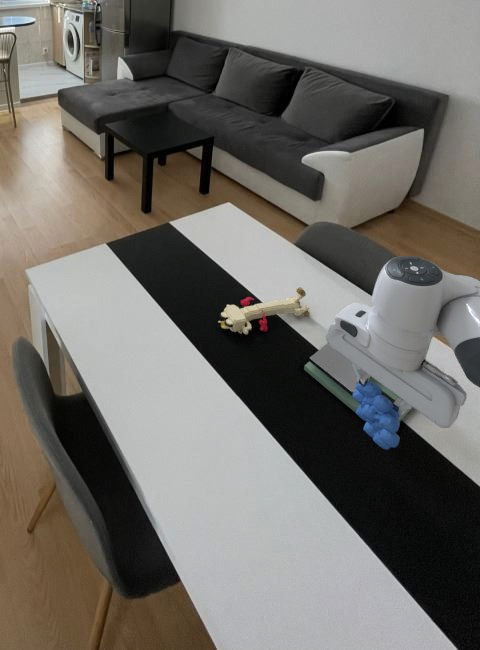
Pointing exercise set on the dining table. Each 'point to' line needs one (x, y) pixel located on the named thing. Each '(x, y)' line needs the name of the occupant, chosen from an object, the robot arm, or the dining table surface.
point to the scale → (341, 393)
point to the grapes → (377, 415)
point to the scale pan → (338, 369)
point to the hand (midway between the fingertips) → (379, 395)
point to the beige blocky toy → (260, 312)
